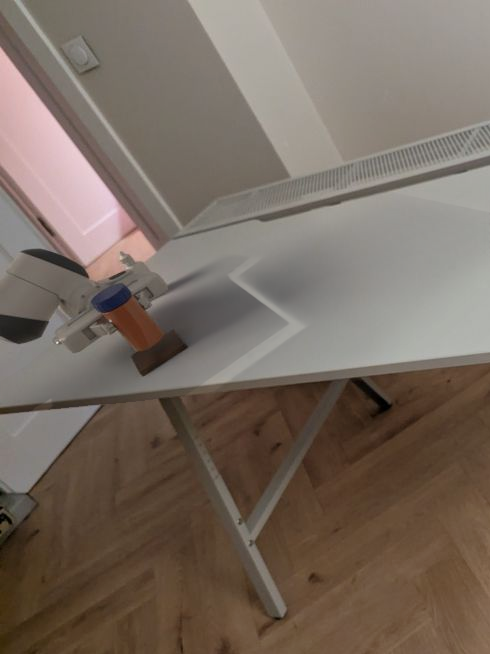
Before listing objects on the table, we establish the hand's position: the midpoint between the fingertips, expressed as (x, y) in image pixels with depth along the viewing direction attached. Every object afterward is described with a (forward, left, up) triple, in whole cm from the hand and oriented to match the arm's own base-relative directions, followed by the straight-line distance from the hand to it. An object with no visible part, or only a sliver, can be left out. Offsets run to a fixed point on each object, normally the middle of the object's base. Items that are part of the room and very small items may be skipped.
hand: (129, 316), depth 96 cm
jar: (0, +1, -6) cm, 6 cm away
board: (0, +1, -9) cm, 9 cm away
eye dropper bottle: (+6, +33, -9) cm, 35 cm away
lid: (0, +1, +5) cm, 5 cm away
